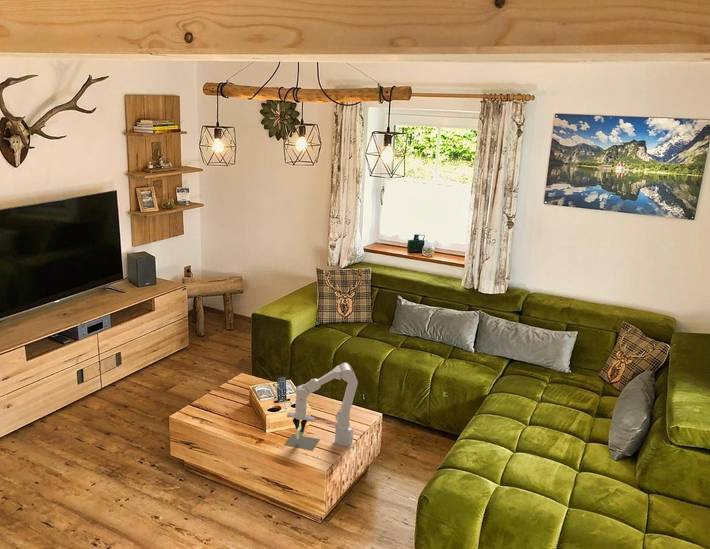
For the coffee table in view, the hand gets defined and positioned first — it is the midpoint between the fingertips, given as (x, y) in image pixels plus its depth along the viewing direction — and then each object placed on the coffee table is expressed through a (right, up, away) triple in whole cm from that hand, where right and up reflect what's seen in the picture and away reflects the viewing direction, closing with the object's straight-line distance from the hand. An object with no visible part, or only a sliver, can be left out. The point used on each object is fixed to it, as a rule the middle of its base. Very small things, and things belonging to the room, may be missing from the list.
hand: (300, 431), depth 328 cm
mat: (+1, -7, +3) cm, 7 cm away
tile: (0, -3, +1) cm, 3 cm away
